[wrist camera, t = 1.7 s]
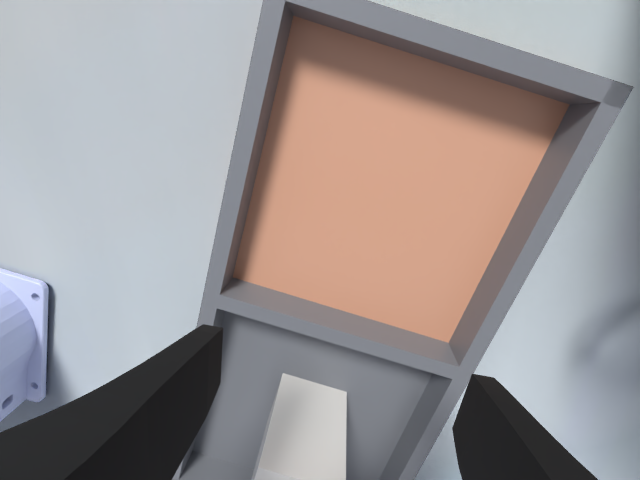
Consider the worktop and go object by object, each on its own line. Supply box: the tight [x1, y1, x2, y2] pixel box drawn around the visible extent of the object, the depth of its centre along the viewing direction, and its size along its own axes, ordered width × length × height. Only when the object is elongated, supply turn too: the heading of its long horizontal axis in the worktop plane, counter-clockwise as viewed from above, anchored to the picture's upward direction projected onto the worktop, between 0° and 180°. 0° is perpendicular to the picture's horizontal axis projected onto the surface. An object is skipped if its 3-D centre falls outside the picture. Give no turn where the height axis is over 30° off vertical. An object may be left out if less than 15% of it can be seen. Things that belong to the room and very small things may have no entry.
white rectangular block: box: [251, 373, 347, 480], centre depth 19 cm, size 4×4×6 cm
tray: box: [172, 0, 633, 480], centre depth 19 cm, size 28×14×3 cm, turn 163°
